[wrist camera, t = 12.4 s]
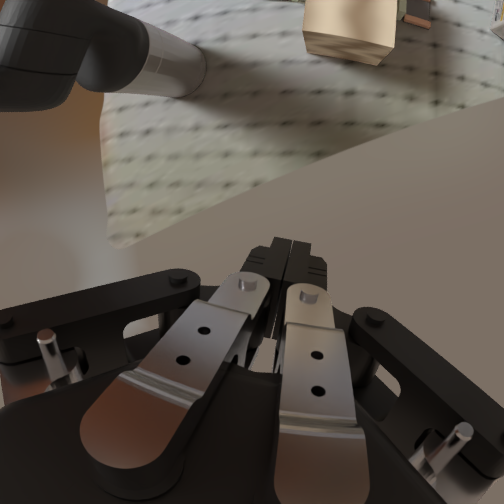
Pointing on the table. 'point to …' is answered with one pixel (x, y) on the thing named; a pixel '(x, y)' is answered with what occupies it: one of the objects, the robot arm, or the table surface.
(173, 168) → the table surface
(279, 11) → the table surface
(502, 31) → the container
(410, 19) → the grey-green piece
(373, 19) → the ash block
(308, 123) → the table surface
